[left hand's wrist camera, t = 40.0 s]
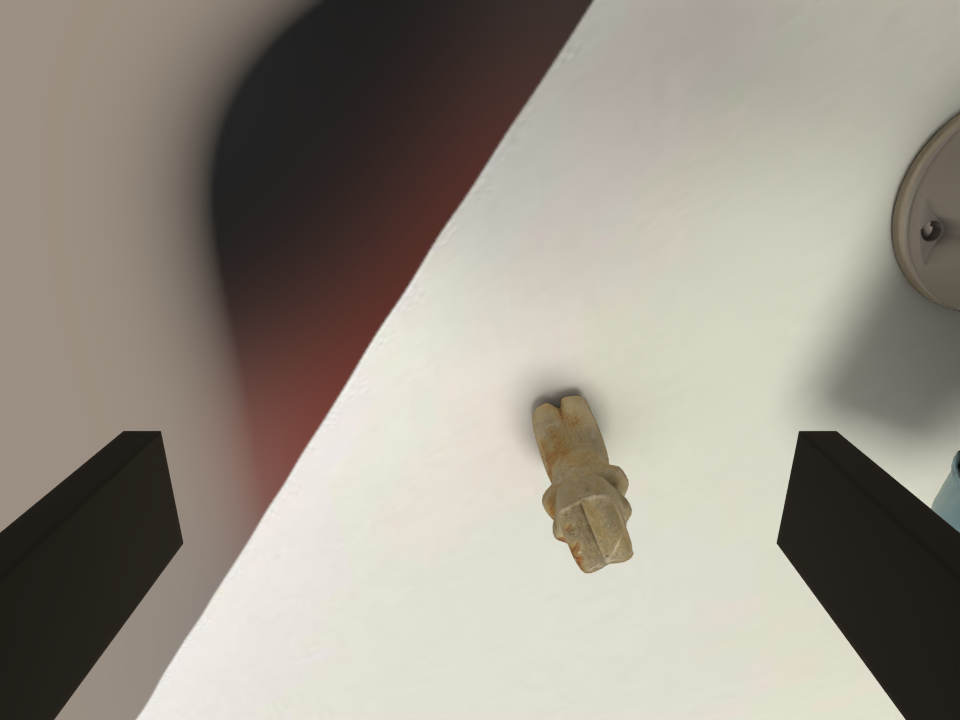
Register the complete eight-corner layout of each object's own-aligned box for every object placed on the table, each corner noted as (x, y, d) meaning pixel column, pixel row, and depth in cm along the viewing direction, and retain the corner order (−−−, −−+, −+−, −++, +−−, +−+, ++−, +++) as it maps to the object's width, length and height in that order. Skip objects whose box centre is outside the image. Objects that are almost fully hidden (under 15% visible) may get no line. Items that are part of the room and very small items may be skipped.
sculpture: (592, 382, 47) (639, 486, 33) (613, 460, 50) (665, 588, 36) (520, 403, 48) (536, 513, 34) (543, 479, 50) (568, 611, 36)
